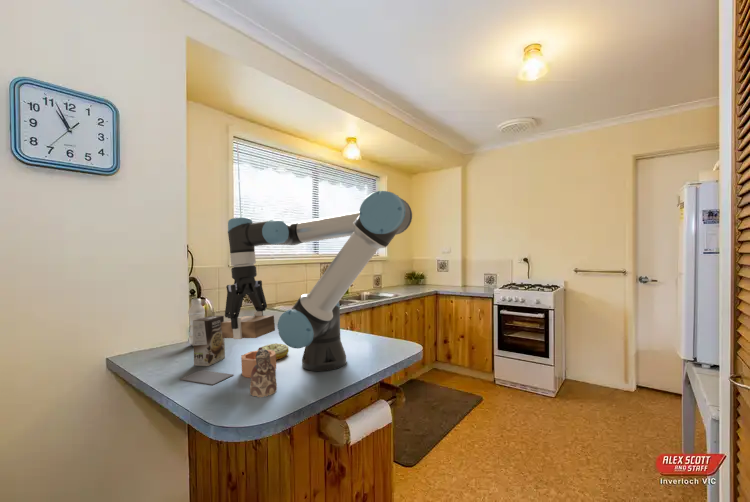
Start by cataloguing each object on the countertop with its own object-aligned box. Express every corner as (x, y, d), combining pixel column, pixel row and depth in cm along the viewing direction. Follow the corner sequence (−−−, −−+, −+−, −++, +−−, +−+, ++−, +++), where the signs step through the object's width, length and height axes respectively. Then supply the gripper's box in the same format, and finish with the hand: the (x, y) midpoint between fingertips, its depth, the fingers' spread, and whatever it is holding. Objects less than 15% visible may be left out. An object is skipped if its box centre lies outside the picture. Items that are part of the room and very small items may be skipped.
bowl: (282, 367, 112) (281, 351, 112) (260, 379, 102) (260, 361, 102) (257, 364, 116) (257, 348, 116) (234, 375, 106) (234, 358, 106)
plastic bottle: (185, 347, 141) (183, 300, 141) (196, 342, 148) (194, 298, 148) (199, 347, 140) (197, 300, 140) (209, 343, 147) (207, 297, 147)
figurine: (250, 399, 89) (249, 354, 89) (249, 389, 95) (247, 347, 95) (278, 393, 92) (276, 350, 92) (275, 384, 98) (273, 344, 98)
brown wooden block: (275, 330, 110) (273, 315, 110) (255, 338, 101) (254, 321, 101) (243, 330, 114) (242, 316, 114) (222, 338, 105) (220, 322, 105)
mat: (233, 375, 107) (233, 374, 107) (212, 385, 99) (212, 384, 99) (201, 370, 112) (201, 369, 112) (179, 379, 104) (179, 378, 104)
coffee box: (209, 366, 116) (207, 320, 116) (193, 365, 117) (191, 320, 117) (226, 357, 125) (224, 315, 125) (211, 357, 126) (209, 315, 126)
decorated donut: (250, 358, 124) (250, 347, 124) (279, 350, 132) (278, 340, 132) (264, 365, 116) (264, 353, 116) (294, 356, 124) (293, 345, 124)
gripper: (257, 264, 120) (262, 326, 119) (207, 269, 99) (213, 344, 98) (274, 263, 117) (279, 326, 117) (226, 267, 96) (233, 344, 96)
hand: (249, 334), depth 108 cm, fingers closed on brown wooden block, 9 cm apart
